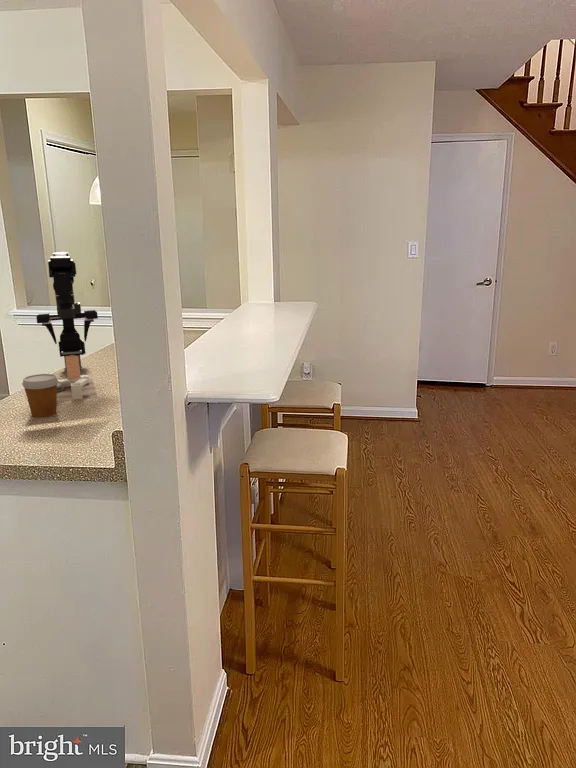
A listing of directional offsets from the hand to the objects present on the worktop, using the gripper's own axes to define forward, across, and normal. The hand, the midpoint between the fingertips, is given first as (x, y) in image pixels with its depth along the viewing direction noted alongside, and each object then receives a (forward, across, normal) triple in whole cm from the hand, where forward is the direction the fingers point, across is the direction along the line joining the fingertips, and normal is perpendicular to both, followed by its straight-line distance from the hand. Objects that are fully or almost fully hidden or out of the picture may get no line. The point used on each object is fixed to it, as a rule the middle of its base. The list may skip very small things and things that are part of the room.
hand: (70, 342), depth 192 cm
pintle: (+15, -7, -3) cm, 17 cm away
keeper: (+16, +1, -13) cm, 20 cm away
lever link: (+14, -3, -1) cm, 14 cm away
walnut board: (+16, -2, -5) cm, 17 cm away
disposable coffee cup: (+19, -10, -28) cm, 35 cm away
